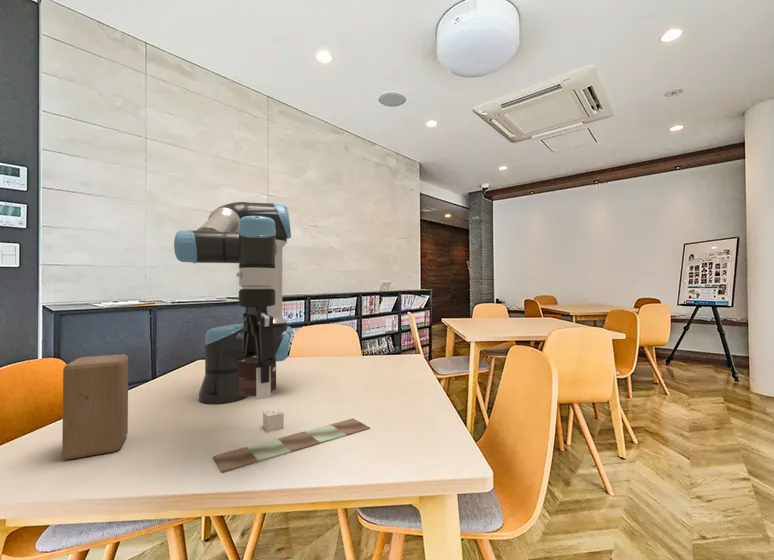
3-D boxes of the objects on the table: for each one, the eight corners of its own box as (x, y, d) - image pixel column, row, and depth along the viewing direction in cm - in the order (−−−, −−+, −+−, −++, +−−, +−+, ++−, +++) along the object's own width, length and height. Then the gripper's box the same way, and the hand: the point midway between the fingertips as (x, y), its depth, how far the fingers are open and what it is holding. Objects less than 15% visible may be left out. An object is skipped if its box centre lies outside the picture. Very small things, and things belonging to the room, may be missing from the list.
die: (262, 427, 92) (262, 411, 92) (278, 423, 94) (278, 408, 95) (267, 432, 89) (267, 415, 89) (283, 428, 91) (283, 412, 91)
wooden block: (60, 462, 74) (61, 365, 74) (75, 443, 83) (76, 356, 83) (120, 452, 78) (121, 360, 79) (128, 435, 87) (129, 353, 88)
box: (261, 398, 74) (261, 362, 74) (235, 395, 76) (236, 360, 76) (276, 389, 80) (277, 356, 80) (252, 387, 81) (253, 355, 82)
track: (212, 457, 76) (212, 455, 76) (353, 419, 97) (353, 418, 97) (221, 473, 69) (221, 471, 69) (370, 428, 91) (370, 427, 91)
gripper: (228, 287, 84) (227, 384, 84) (253, 288, 67) (253, 409, 67) (260, 287, 89) (260, 379, 89) (291, 288, 72) (291, 402, 72)
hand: (257, 392), depth 78 cm, fingers closed on box, 8 cm apart
